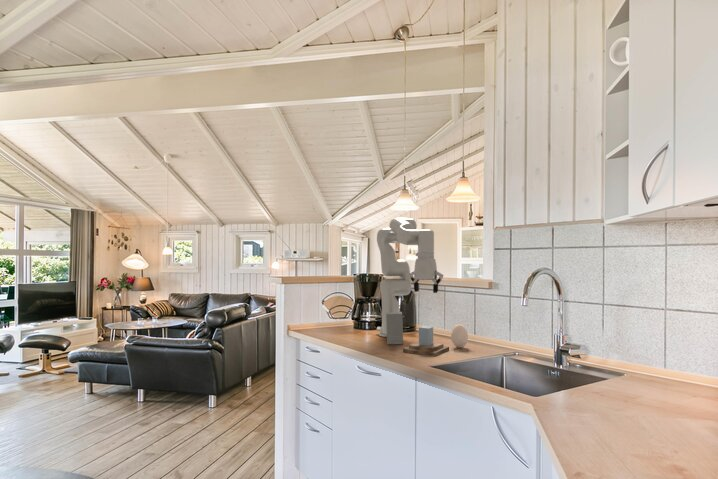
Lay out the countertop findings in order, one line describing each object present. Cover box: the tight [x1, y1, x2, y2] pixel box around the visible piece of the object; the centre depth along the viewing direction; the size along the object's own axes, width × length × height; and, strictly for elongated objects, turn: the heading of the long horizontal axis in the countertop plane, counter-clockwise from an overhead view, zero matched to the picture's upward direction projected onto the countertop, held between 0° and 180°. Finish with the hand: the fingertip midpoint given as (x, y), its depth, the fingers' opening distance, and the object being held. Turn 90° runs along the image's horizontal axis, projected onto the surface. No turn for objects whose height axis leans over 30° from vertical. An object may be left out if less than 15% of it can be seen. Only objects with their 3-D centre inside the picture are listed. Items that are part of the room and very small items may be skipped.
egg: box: [450, 323, 469, 349], centre depth 214 cm, size 8×8×11 cm
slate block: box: [418, 325, 434, 346], centre depth 206 cm, size 5×5×8 cm
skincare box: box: [386, 311, 404, 345], centre depth 224 cm, size 8×7×16 cm
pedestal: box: [402, 341, 450, 357], centre depth 206 cm, size 16×16×3 cm
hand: (425, 292), depth 207 cm, fingers open, 9 cm apart
